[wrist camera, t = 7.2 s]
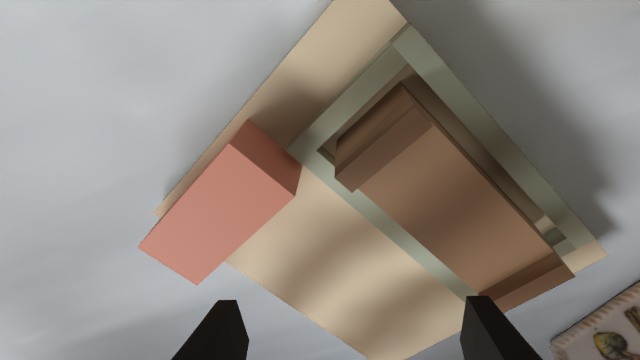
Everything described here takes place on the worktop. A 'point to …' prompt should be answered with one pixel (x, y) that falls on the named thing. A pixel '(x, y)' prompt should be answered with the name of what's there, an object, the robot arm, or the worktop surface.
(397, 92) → the brown u-shaped block
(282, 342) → the worktop surface
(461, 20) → the worktop surface
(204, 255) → the pink rectangular block
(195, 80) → the worktop surface
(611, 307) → the decorative jar
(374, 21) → the jig
